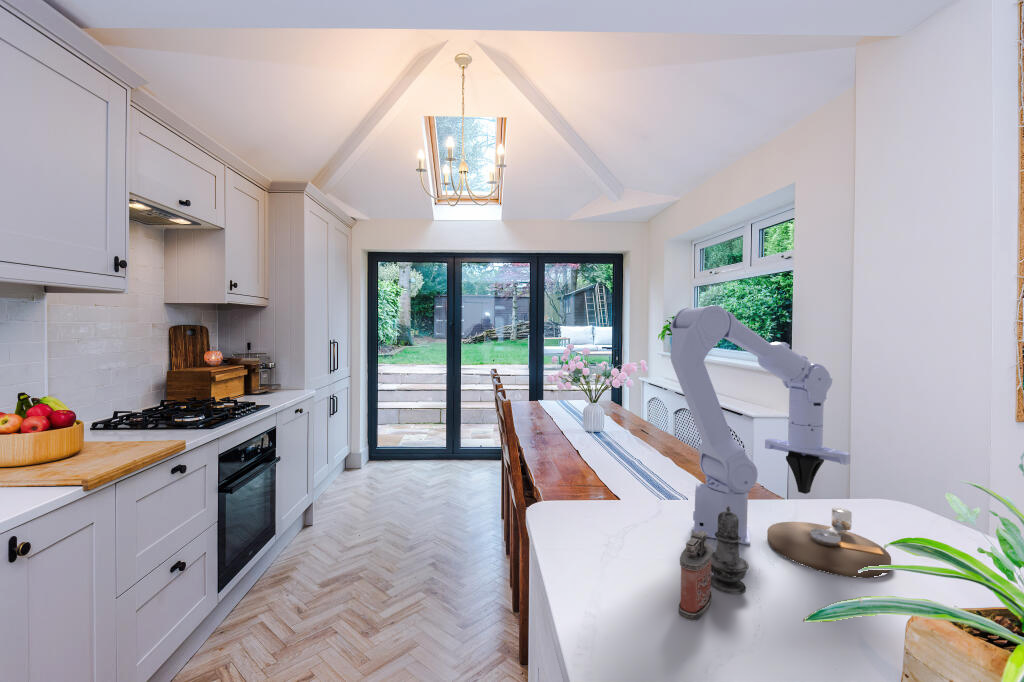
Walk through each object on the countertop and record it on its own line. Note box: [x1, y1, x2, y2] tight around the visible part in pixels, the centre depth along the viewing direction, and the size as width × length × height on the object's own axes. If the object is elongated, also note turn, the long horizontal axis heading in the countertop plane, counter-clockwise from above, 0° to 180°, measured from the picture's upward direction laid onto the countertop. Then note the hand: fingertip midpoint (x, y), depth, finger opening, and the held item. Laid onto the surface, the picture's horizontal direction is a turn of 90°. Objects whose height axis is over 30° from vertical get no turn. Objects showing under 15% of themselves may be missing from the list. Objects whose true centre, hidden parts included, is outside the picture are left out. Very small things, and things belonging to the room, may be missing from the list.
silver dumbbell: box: [811, 507, 853, 547], centre depth 83 cm, size 11×4×4 cm, turn 125°
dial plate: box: [766, 521, 892, 579], centre depth 81 cm, size 18×18×2 cm
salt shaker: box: [711, 506, 750, 595], centre depth 69 cm, size 6×6×12 cm
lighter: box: [678, 531, 714, 621], centre depth 64 cm, size 8×3×10 cm, turn 141°
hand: (804, 492), depth 90 cm, fingers closed
